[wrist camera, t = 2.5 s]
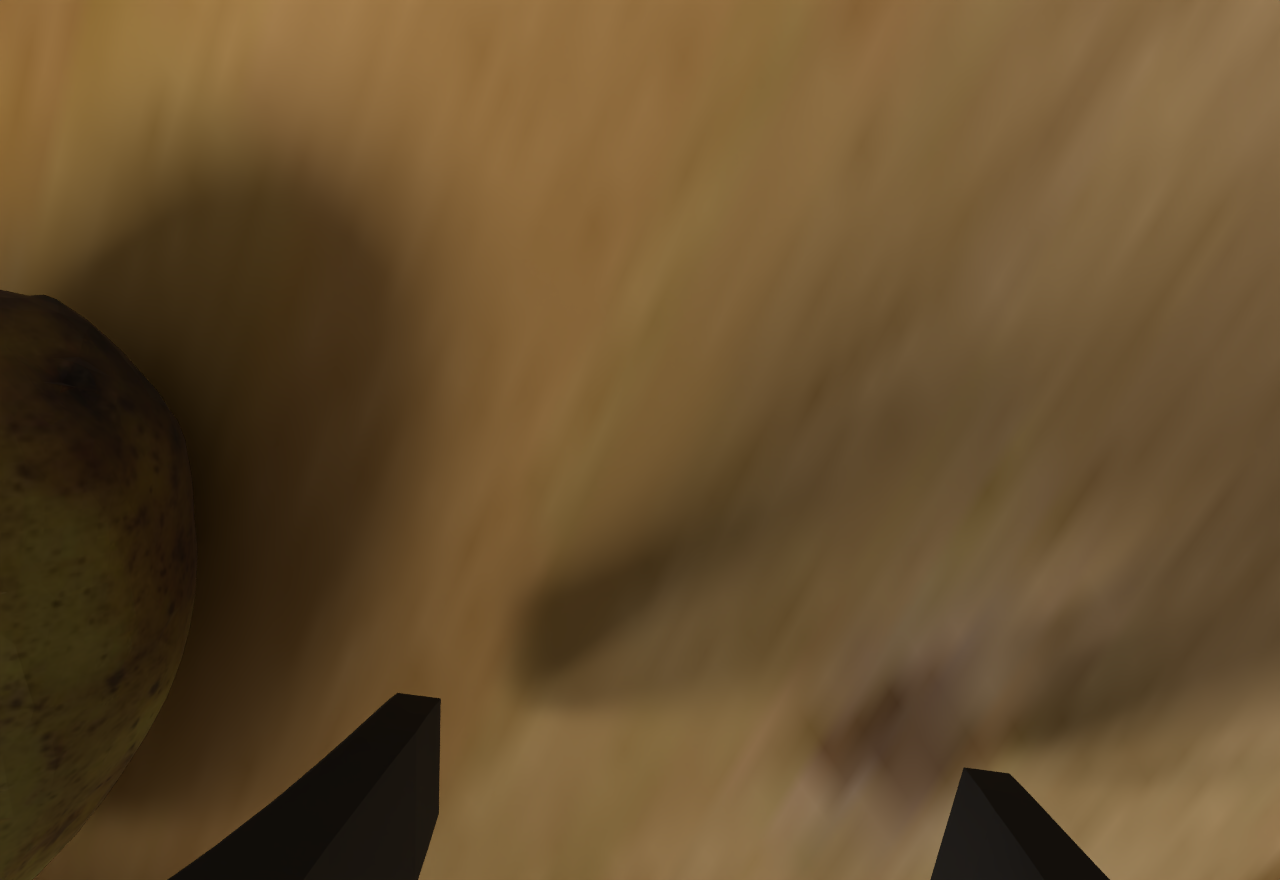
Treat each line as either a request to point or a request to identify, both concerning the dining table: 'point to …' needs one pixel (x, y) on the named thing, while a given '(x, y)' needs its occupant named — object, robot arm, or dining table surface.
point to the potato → (82, 571)
